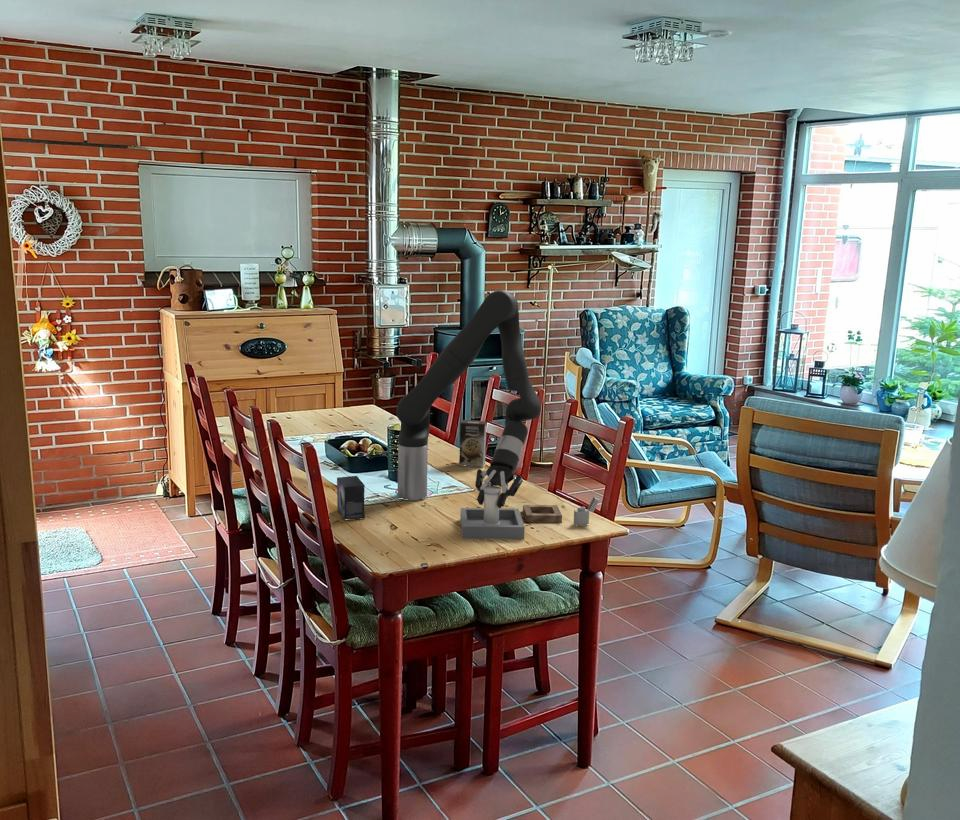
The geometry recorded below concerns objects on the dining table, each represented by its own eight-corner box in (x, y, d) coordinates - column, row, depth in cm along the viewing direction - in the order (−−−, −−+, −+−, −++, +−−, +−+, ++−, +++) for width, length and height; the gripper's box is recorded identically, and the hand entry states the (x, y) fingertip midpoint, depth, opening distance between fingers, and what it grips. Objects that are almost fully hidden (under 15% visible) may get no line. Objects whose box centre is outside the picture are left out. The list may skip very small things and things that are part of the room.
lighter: (575, 525, 257) (576, 499, 256) (573, 524, 259) (574, 497, 257) (598, 524, 259) (599, 498, 258) (595, 522, 261) (597, 496, 259)
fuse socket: (526, 521, 260) (526, 515, 259) (522, 511, 270) (523, 504, 269) (561, 522, 260) (562, 515, 260) (556, 511, 270) (557, 505, 270)
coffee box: (458, 466, 321) (459, 422, 318) (461, 462, 327) (462, 419, 324) (483, 467, 320) (484, 423, 317) (485, 463, 326) (486, 420, 323)
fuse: (483, 528, 250) (484, 490, 248) (482, 522, 254) (483, 485, 252) (500, 528, 250) (501, 490, 248) (498, 522, 255) (500, 486, 253)
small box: (335, 510, 266) (335, 476, 264) (357, 508, 268) (357, 475, 266) (343, 521, 256) (343, 486, 254) (365, 519, 259) (365, 484, 257)
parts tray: (462, 538, 244) (462, 526, 243) (460, 519, 260) (460, 508, 260) (524, 539, 245) (524, 527, 244) (518, 519, 261) (518, 508, 261)
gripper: (481, 444, 258) (462, 494, 249) (527, 450, 252) (509, 502, 243) (488, 458, 264) (470, 508, 255) (533, 464, 258) (516, 515, 249)
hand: (489, 504), depth 249 cm, fingers open, 5 cm apart
